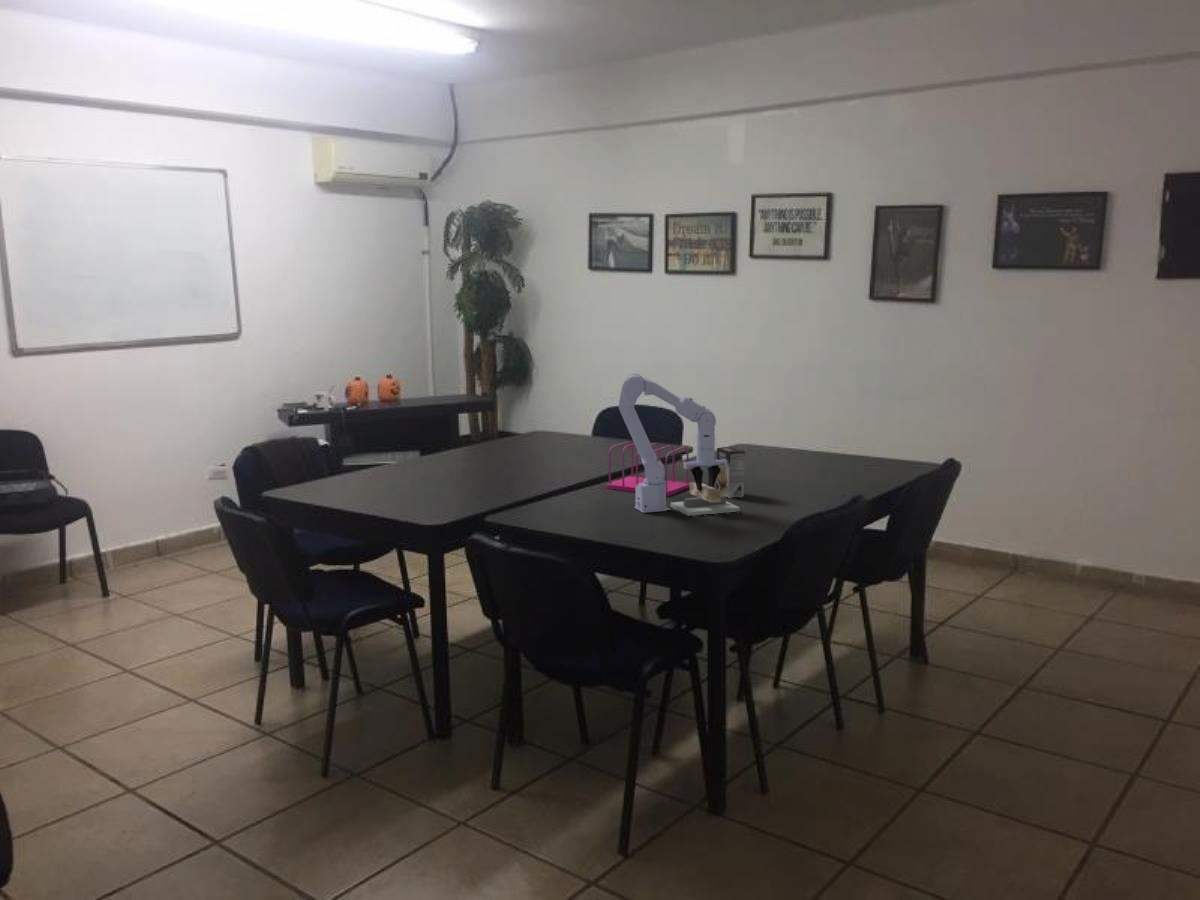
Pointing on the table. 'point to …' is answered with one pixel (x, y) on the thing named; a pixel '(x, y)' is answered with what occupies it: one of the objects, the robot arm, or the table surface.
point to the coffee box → (731, 472)
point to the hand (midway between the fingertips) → (705, 489)
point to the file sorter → (632, 481)
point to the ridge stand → (704, 506)
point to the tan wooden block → (706, 492)
